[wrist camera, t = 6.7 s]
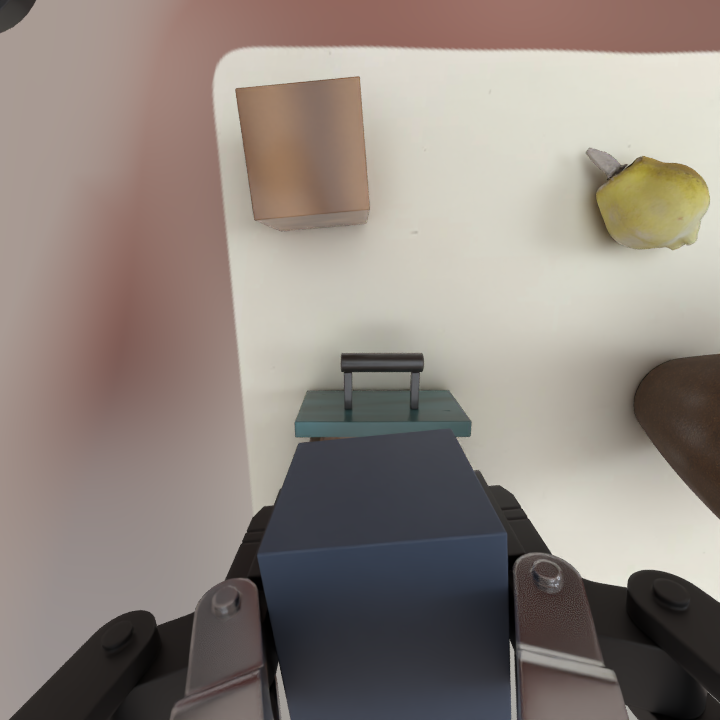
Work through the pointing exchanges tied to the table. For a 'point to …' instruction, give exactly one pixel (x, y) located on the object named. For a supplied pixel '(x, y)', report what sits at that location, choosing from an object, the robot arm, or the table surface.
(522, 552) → the robot arm
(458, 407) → the drawer
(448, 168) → the table surface
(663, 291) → the table surface
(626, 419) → the table surface
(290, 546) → the block
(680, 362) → the flower pot
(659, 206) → the fruit
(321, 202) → the cube
